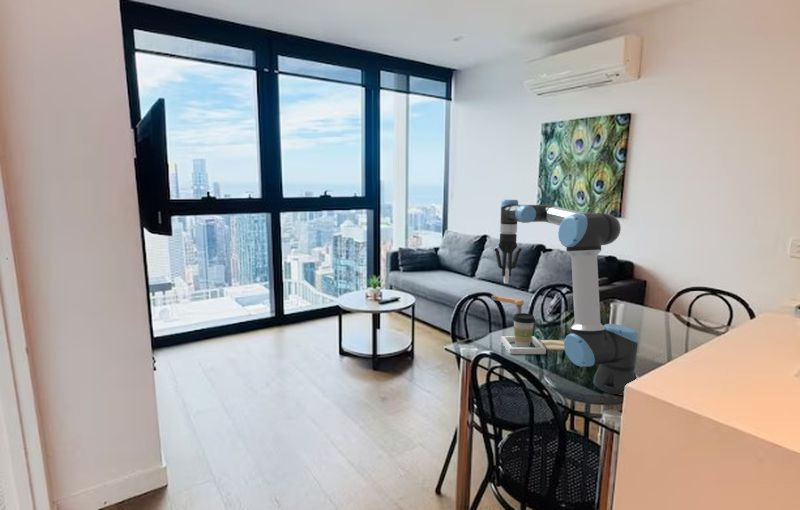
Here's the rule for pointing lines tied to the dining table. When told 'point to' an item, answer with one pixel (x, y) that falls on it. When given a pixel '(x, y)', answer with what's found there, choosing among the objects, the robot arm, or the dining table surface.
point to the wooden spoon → (507, 300)
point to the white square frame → (522, 350)
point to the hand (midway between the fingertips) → (506, 282)
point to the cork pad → (553, 345)
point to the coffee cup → (523, 329)
